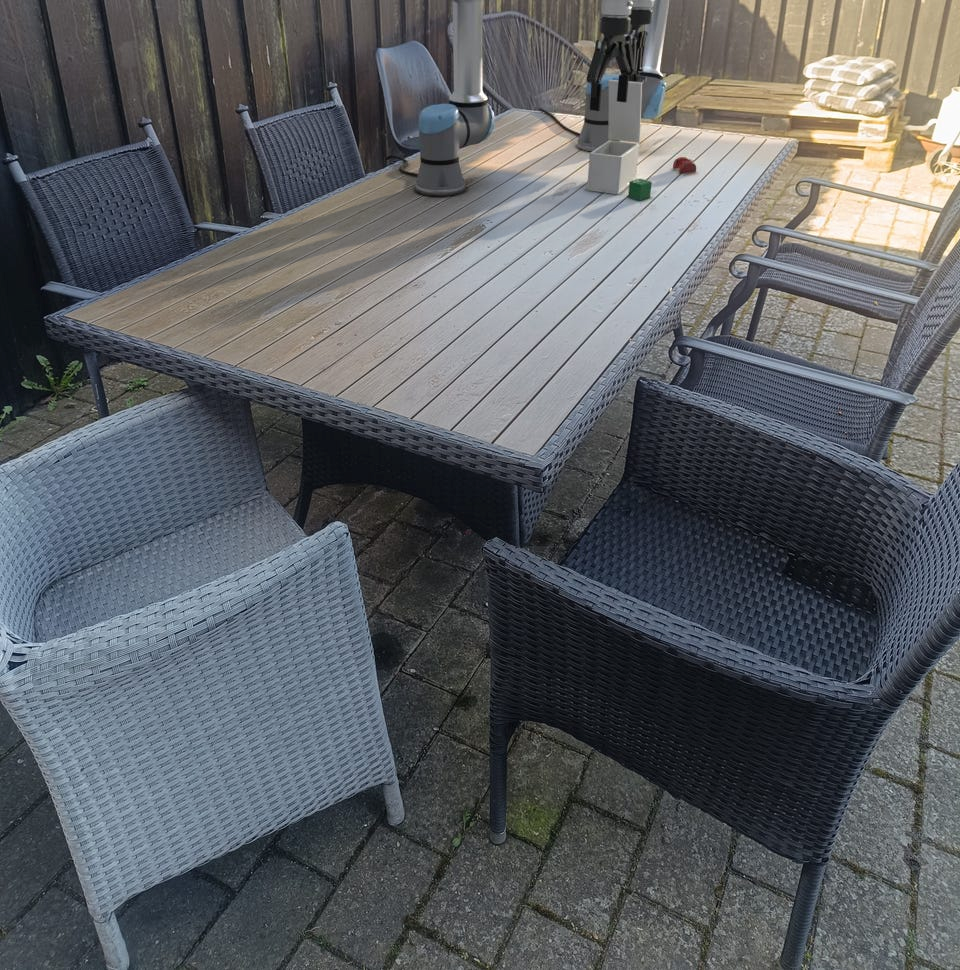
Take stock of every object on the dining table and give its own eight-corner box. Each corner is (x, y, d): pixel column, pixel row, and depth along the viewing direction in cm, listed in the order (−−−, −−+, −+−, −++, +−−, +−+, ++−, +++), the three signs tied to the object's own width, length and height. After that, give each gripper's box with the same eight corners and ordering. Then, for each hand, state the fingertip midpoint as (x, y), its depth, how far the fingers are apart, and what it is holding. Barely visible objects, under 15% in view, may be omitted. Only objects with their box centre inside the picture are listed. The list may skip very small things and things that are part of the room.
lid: (641, 83, 247) (650, 70, 252) (608, 80, 250) (618, 68, 255) (639, 142, 260) (648, 129, 265) (608, 139, 264) (617, 126, 269)
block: (639, 200, 250) (641, 184, 247) (628, 196, 253) (629, 181, 250) (650, 197, 252) (651, 181, 249) (638, 194, 255) (640, 178, 252)
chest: (618, 194, 254) (621, 157, 248) (586, 190, 258) (589, 153, 252) (635, 179, 267) (639, 143, 261) (605, 176, 271) (608, 140, 264)
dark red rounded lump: (688, 153, 276) (699, 160, 270) (686, 166, 279) (697, 173, 272) (672, 155, 275) (682, 161, 269) (670, 168, 278) (681, 175, 271)
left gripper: (602, 22, 204) (595, 116, 216) (653, 12, 219) (644, 100, 232) (576, 19, 207) (570, 112, 220) (628, 10, 223) (620, 96, 236)
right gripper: (644, 11, 237) (636, 101, 251) (660, 5, 248) (650, 92, 262) (619, 10, 240) (612, 99, 254) (635, 4, 251) (627, 90, 264)
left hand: (608, 106), depth 226 cm, fingers open, 13 cm apart
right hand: (631, 95), depth 258 cm, fingers closed on lid, 2 cm apart
